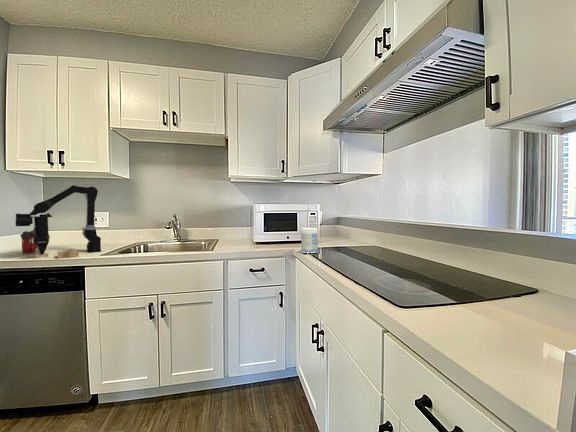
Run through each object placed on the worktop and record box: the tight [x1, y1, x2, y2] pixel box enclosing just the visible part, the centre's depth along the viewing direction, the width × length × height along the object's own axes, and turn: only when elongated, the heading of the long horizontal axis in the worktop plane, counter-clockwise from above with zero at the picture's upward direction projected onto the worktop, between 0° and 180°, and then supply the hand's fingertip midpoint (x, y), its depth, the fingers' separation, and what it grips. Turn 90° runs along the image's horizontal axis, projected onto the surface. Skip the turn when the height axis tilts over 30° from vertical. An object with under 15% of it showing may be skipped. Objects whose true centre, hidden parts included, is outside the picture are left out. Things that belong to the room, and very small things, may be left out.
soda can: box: [20, 236, 38, 255], centre depth 166 cm, size 7×7×12 cm
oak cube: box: [35, 246, 49, 259], centre depth 154 cm, size 5×5×5 cm
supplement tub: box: [300, 227, 319, 254], centre depth 162 cm, size 10×10×15 cm
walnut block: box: [57, 250, 80, 260], centre depth 154 cm, size 9×9×3 cm
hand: (42, 253), depth 154 cm, fingers open, 9 cm apart
